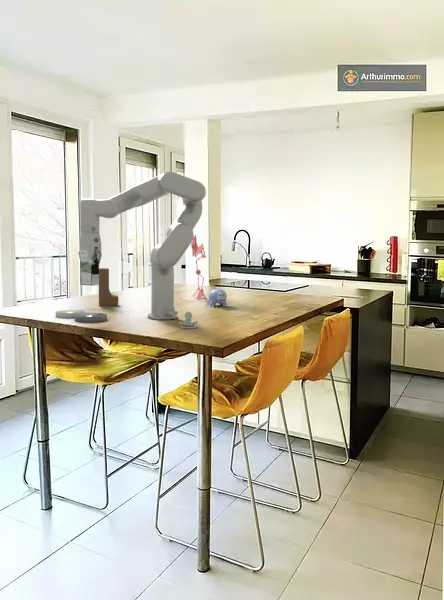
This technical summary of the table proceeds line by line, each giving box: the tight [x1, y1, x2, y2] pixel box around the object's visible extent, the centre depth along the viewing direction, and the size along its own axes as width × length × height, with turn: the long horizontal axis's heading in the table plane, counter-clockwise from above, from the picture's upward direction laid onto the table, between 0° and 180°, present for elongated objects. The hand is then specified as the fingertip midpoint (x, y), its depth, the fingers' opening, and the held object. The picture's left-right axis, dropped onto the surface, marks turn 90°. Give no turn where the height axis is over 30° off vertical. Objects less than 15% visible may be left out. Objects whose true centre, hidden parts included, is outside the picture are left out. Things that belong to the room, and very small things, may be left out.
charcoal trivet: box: [74, 312, 108, 324], centre depth 219 cm, size 13×13×2 cm
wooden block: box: [98, 267, 119, 307], centre depth 258 cm, size 9×4×18 cm, turn 96°
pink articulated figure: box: [179, 234, 208, 302], centre depth 286 cm, size 15×26×35 cm, turn 12°
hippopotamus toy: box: [205, 285, 230, 307], centre depth 264 cm, size 11×15×10 cm
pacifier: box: [178, 311, 198, 330], centre depth 207 cm, size 7×6×6 cm
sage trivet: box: [55, 309, 86, 319], centre depth 228 cm, size 12×12×2 cm
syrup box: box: [79, 249, 99, 287], centre depth 216 cm, size 6×6×14 cm
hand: (89, 273), depth 217 cm, fingers closed on syrup box, 7 cm apart
